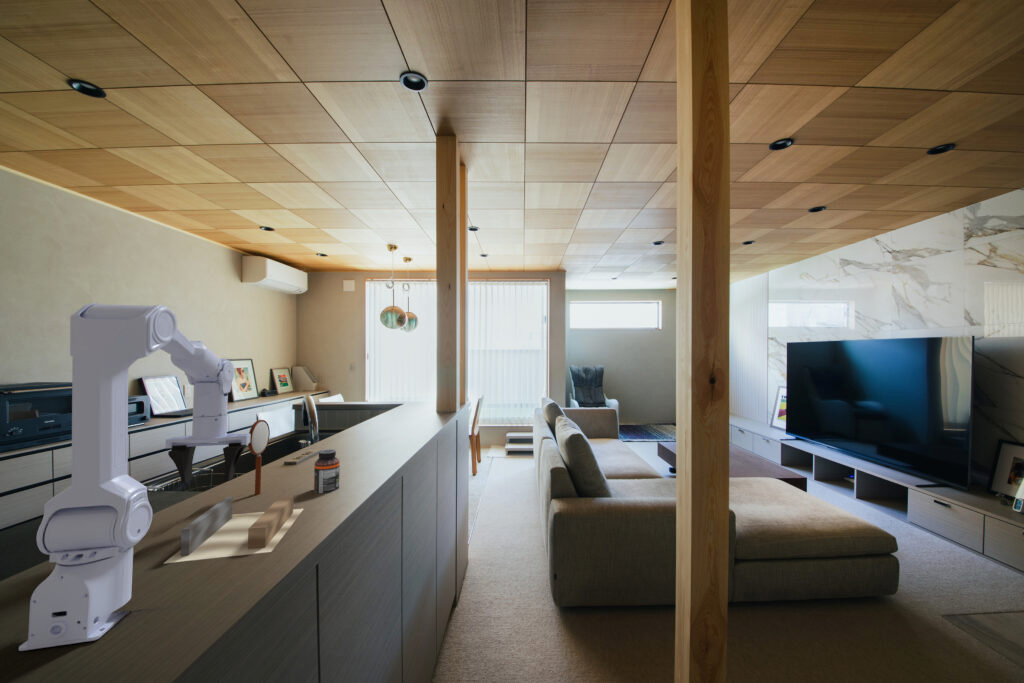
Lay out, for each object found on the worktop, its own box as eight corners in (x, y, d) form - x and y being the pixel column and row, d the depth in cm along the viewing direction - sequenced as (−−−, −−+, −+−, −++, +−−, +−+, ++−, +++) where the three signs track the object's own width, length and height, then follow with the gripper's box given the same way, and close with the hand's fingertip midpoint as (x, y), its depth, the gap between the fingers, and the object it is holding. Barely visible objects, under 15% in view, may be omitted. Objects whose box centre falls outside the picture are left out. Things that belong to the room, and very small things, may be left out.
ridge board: (270, 560, 67) (271, 525, 68) (163, 572, 64) (164, 535, 64) (303, 515, 87) (304, 488, 87) (222, 522, 83) (223, 494, 83)
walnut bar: (265, 547, 69) (265, 527, 69) (247, 549, 68) (248, 528, 69) (293, 512, 85) (293, 496, 85) (279, 513, 84) (279, 497, 84)
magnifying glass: (250, 506, 92) (253, 422, 93) (243, 506, 92) (245, 422, 93) (270, 493, 100) (272, 417, 101) (263, 494, 100) (265, 417, 101)
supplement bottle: (314, 492, 101) (315, 449, 102) (338, 489, 104) (339, 447, 104) (313, 500, 96) (314, 454, 96) (339, 496, 98) (340, 452, 99)
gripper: (256, 411, 86) (255, 472, 86) (181, 413, 83) (178, 477, 82) (243, 416, 79) (241, 482, 79) (159, 418, 76) (157, 488, 75)
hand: (208, 480), depth 80 cm, fingers open, 7 cm apart
